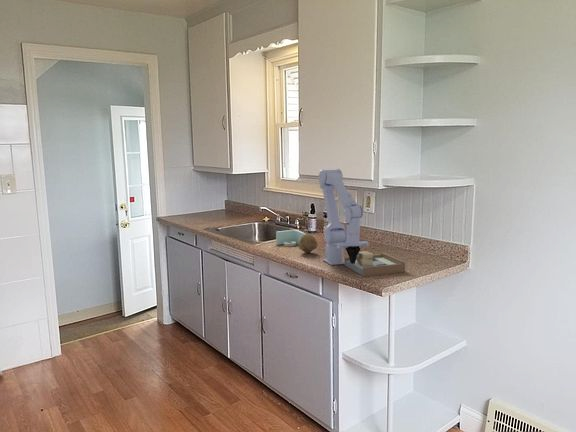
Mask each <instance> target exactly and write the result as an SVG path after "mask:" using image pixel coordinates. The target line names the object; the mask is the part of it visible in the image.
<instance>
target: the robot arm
mask: <svg viewBox="0 0 576 432" xmlns="http://www.w3.org/2000/svg"><path fill="white" fill-rule="evenodd" d="M343 176H344V175H343V172H342V170H341V169H340V168H337V169H331V168H330V169H320V171H319V173H318V183H319V187H320V188H319V189H321V190H322V195H323V200H324V206H325V212H326V217H327V218H326V219H327V223H328V224H327V225H326V226H325V228H324V229H323V232H324V233H323V239H324V242H325V243H326V245H325V247H324V250H325V253H324V254H325V255H324V259H323V261H324V262H325V263H327V264H328V265H330V266H334V265H335V266H336V265H344V261H345V260H344V249H345V251H346V252H347V256H348V257H349V259H350V263H352V264H355V261H356V257H357V256H358V253H359V252H361V247H369V246H370V243H369V241H360V240H361V239H360V238H361V237H360V235H361V233H360V231H361V218H362V217H363V215H364V212H363V211H364V210H363V206H362V205H360V204H359V203H357V202H356V201H355V199H354V196H353V195H352V193H351V192H348V191H347V188H346V186H345V184H344V181H343V179H344V177H343ZM335 190H336V192H337V194H339V201H340V203H341V205H342V207H343V209H344V211H343V214H344V218H345V219H344V220H345V223H346V227H345V225H344V224H342V223H341V222H340V218H339V213H338V206H337V202H336V197H335V192H334V191H335Z"/></svg>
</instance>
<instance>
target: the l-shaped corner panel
mask: <svg viewBox="0 0 576 432" xmlns="http://www.w3.org/2000/svg"><path fill="white" fill-rule="evenodd" d="M305 234H307V233H305V232H302V231H300V230H297V229H290V230H281V231H279V230H278V231H275V237H276V238H275V241H276V244H275V245H277V246H278V245H283V247H289V248H291V247H296V246H297V245H298V246H299V245H300V240H301V237H302V236H303V235H305Z"/></svg>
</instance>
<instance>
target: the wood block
mask: <svg viewBox="0 0 576 432" xmlns="http://www.w3.org/2000/svg"><path fill="white" fill-rule="evenodd" d="M373 255H374V253H372V252H370V251H369V250H367V251H359V253H358V255H357V256H358V257H357V263H358V264H360V265H362V266H366V265H373Z"/></svg>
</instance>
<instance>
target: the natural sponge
mask: <svg viewBox="0 0 576 432" xmlns="http://www.w3.org/2000/svg"><path fill="white" fill-rule="evenodd" d="M298 246H299V250H301V251H302V252H304V253H306V254H310V253H311V252H313V251H314V250H316V249H317V247H318V242H317V239H316V237H315V236H314V235H313V234H311V233H306V234H305V235H303V236H302V237H301V240H300V245H298Z"/></svg>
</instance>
